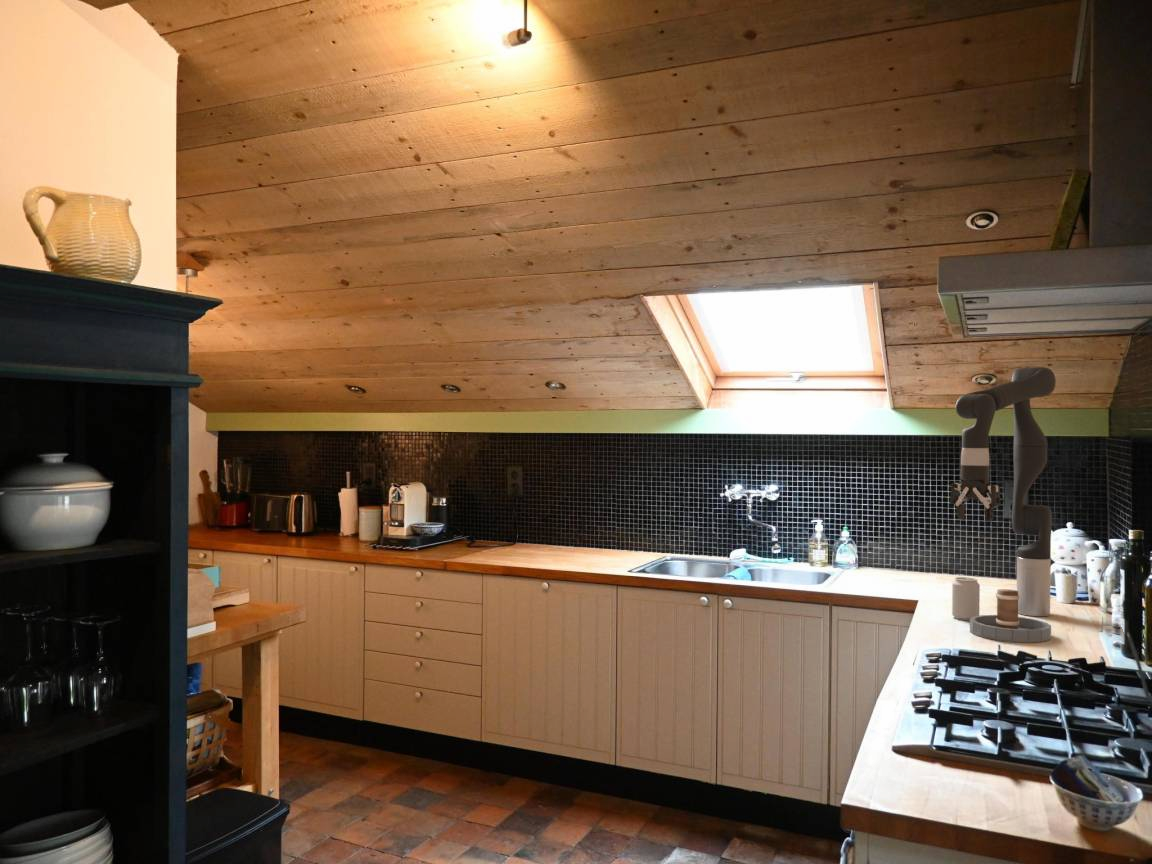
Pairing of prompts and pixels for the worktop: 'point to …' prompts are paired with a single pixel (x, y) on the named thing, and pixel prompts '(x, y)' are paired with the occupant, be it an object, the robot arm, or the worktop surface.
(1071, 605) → the worktop surface
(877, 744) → the worktop surface
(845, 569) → the worktop surface
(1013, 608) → the brown banded canister
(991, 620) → the round tray
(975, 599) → the wide mouth jar
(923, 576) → the worktop surface
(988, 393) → the robot arm
